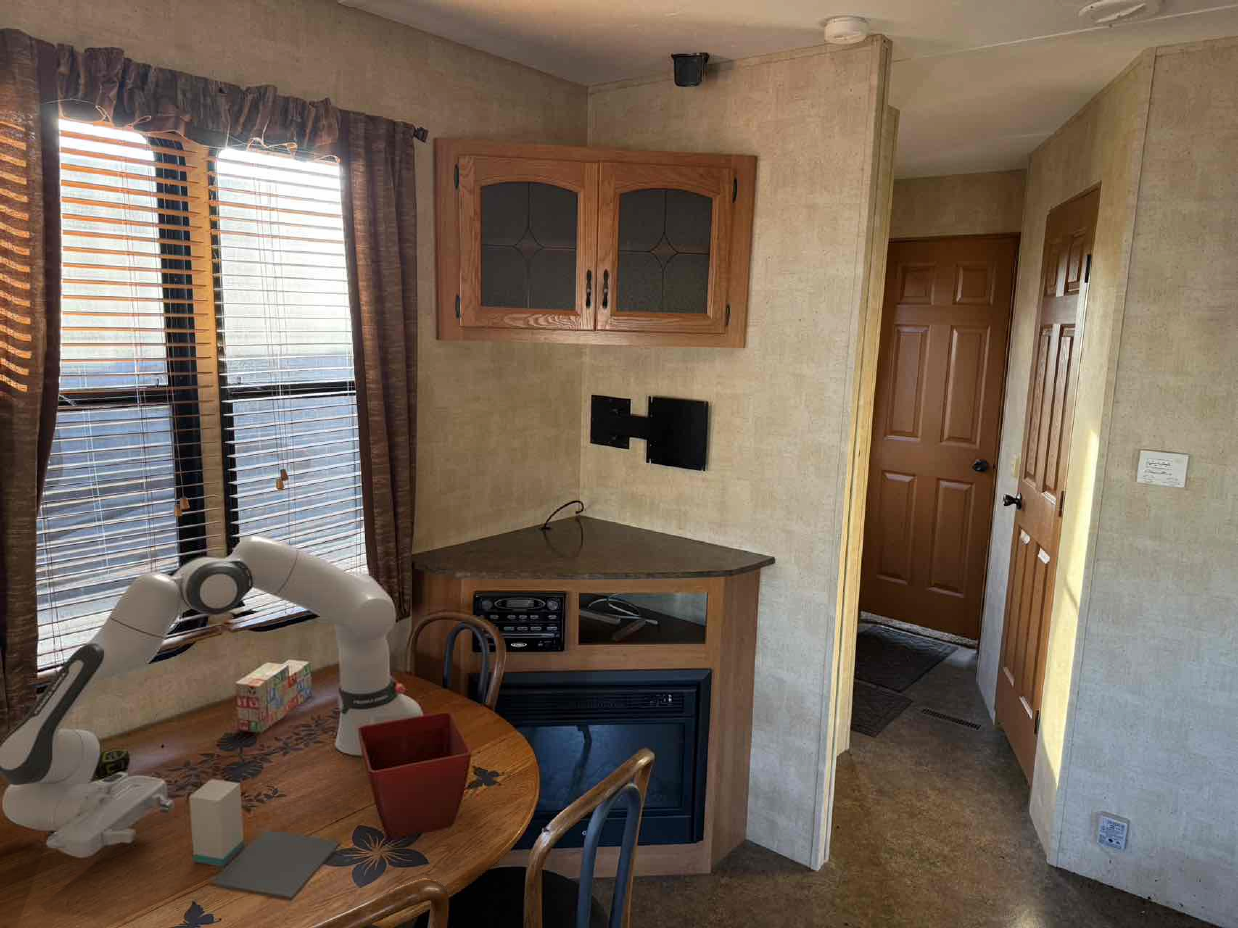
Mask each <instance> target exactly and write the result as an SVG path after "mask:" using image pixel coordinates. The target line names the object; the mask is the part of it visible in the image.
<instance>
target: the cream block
mask: <svg viewBox="0 0 1238 928" xmlns="http://www.w3.org/2000/svg"><path fill="white" fill-rule="evenodd" d="M242 809H243V808H242V795H241V783H239V782H233V781H226V780H219V779H213V778H211V779H210V780H209V781H207V782H206V783H204V784H203V785H202V786H201V787H200V788H198V789H197V790H196V791H194V792H192V794H190V796H189V810H190V821H191V822H190V823H191V837H192V850H193V851H192V852H193V862H194V863H195V862H196V863H200V864H206V865H211V866H217V867H224V866H226V865H228V864H229V863H230V862H231V861H232V859H234V858H235V857H236V855H238V853H240V851H241V850H242V849H243V848H244V847H245V845H244V844H245V842H244V841H245V840H244V825H243V811H242Z"/></svg>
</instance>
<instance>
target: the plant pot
mask: <svg viewBox="0 0 1238 928" xmlns="http://www.w3.org/2000/svg"><path fill="white" fill-rule="evenodd" d="M358 734H359V740H360V745H361V750H362V754H363V755H362V757H363V762H364V765H365V770H366V775H367V778H368V780H369V785H370V787H371V791H372V796H373V799H374V804H375V807H376V810H377V814H378V817H379V820H380V823H381V826H382V828H383V831H384V834H385V837H386V838H387V840H391V841H392V840H397V839H402V838H406V837H410V836H414V835H415V836H417V835H420V834H423V833H428V832H433V831H437V830H443V829H446V828H451V827H452V826H453V825H454V823H455V820H456V818H457V815H458V812H459V810H460V806H461V803H462V801H463V797H464V793H465V790H466V786H467V782H468V776H469V771H470V764H471V757H472V749H471V747H470V746H469V744H468V742H467V740H466V738H465V737H464V734H463V732H462V731H461V729H460V727H459V725H458V723H457V721H456V717H454V714H453V713H452V712H450V711H443V712H437V713H430V714H423V716H417V717H411V718H406V719H400V720H394V721H389V722H383V723H377V724H371V725H365V726H361V727H359V728H358Z"/></svg>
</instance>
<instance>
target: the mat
mask: <svg viewBox="0 0 1238 928" xmlns="http://www.w3.org/2000/svg"><path fill="white" fill-rule="evenodd" d="M340 845H341V841H338V840H337V841H336V840H330V839H326V838H318V837H313V836H306V835H300V834H294V833H286V832H281V831H274V830H269V829H264V830H263V831H262V832H260V834H259V835H258V836H257V837H256V838H254V839H253V840H252V841H251V842H250V843H249V844H248V845H247V846H246V847H245V848H244V849H243V850H242V851H241V852H239V854H237V856H235V857H234V858H233V860H230V861H229V862H228V863H227V864H226V865H225V867H224V868H223V869H222V870H221V871H220V872H219V873H218V874H217V875H216V876H215V877H214V878H213V879H211V880H210V881H209V885H210V886H213V887H218V888H219V887H220V888H225V889H231V890H236V891H242V892H249V893H253V894H257V895H258V894H259V895H263V896H264V895H265V896H269V897H275V898H279V899H280V898H281V899H285V900H286V899H287V900H290V901H291V900H293V899H294V898H295V896H297V894H298V893H299V892H300V891H301V890H302V889H303V888H304V886H305V885H307V883H308V882H309V881H310V880H311V878H312V877H313V876H314V875H315V874H316V873H317V872H318V870H319V869H320V868H321V867H322V866H323V865H324V864H325V862H327V860H328V859H329V858H330V857H331V856H332V854H333V853H334V852H335V851H336V850H337V849H338V848H339V847H340Z"/></svg>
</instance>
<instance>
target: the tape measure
mask: <svg viewBox="0 0 1238 928" xmlns="http://www.w3.org/2000/svg"><path fill="white" fill-rule="evenodd" d="M130 759H131V757H130V754H129V752H128V750H127V749H125V748H121V747H117V748H116V747H115V748H110V749H107V750H104V751H101V755H100V759H99V762H98V765H97V768H96V770H95V773H94V776H95V777H96V778H99V779H100V778H104V777H106V776H112V775H114V774H116V773H119V772H124V770H126V769H127V768H128V766H129V764H130V762H131V760H130Z"/></svg>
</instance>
